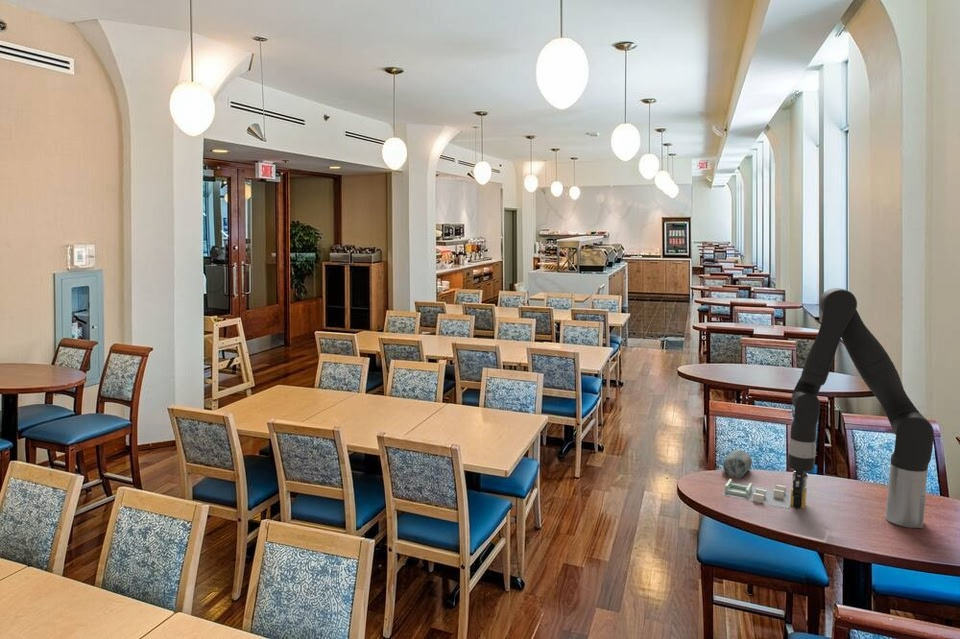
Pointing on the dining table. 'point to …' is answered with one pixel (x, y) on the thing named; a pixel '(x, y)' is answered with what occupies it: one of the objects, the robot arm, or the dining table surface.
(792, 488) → the yellow drawer
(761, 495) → the white blocks
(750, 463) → the spool
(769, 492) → the board
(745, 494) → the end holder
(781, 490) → the white blocks
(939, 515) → the dining table surface
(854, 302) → the robot arm
